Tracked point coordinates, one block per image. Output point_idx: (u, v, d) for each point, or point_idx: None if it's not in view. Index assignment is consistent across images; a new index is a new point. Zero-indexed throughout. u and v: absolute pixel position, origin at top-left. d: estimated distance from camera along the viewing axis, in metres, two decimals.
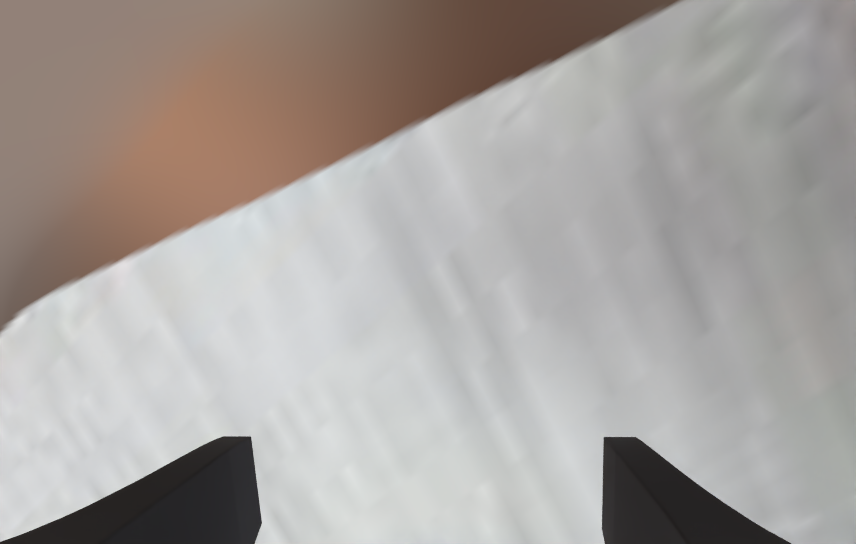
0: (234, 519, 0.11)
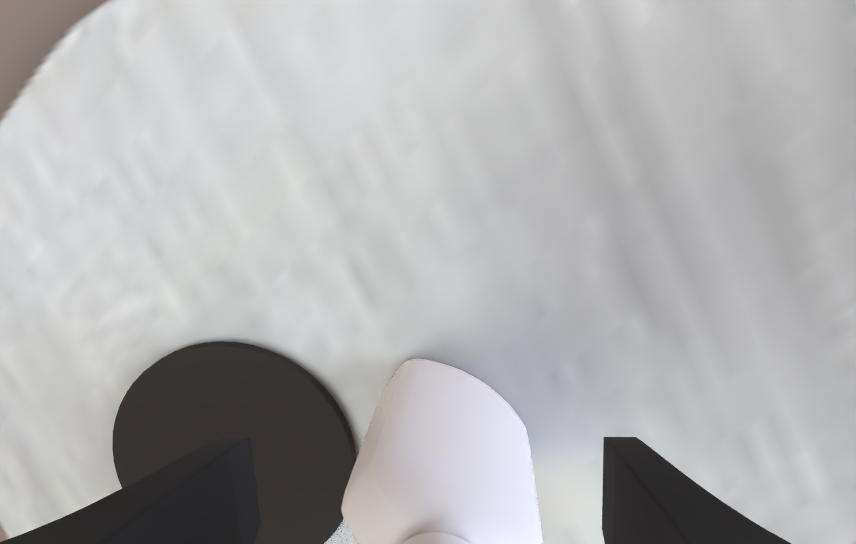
0: (234, 519, 0.11)
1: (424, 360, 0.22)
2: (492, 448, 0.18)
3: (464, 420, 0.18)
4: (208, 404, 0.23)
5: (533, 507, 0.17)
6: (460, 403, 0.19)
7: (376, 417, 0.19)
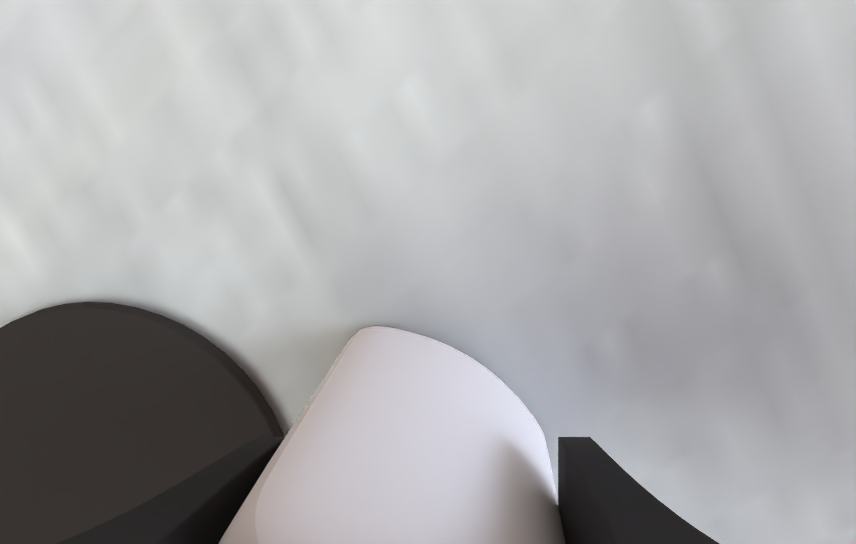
0: None
1: (388, 328, 0.14)
2: (491, 468, 0.10)
3: (445, 419, 0.11)
4: (71, 395, 0.16)
5: None
6: (439, 392, 0.12)
7: None
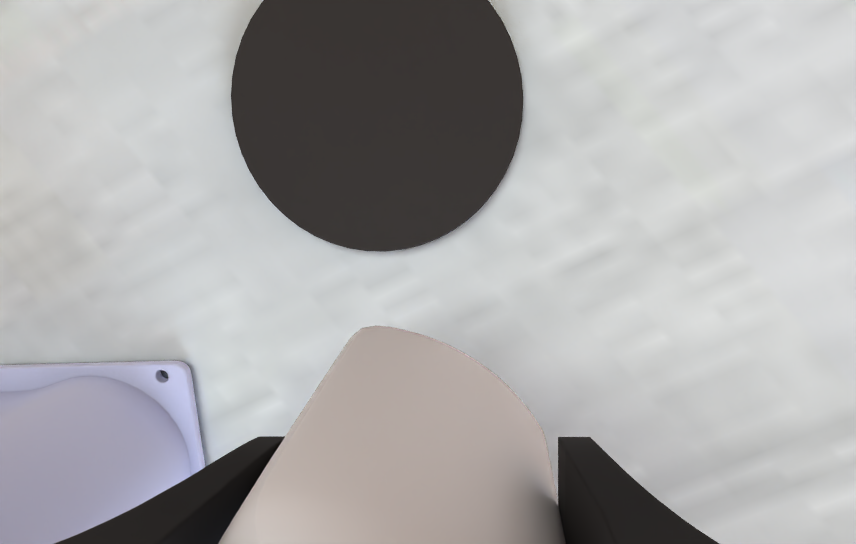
0: None
1: (388, 328, 0.14)
2: (492, 468, 0.10)
3: (445, 418, 0.11)
4: (449, 83, 0.20)
5: None
6: (439, 391, 0.12)
7: None
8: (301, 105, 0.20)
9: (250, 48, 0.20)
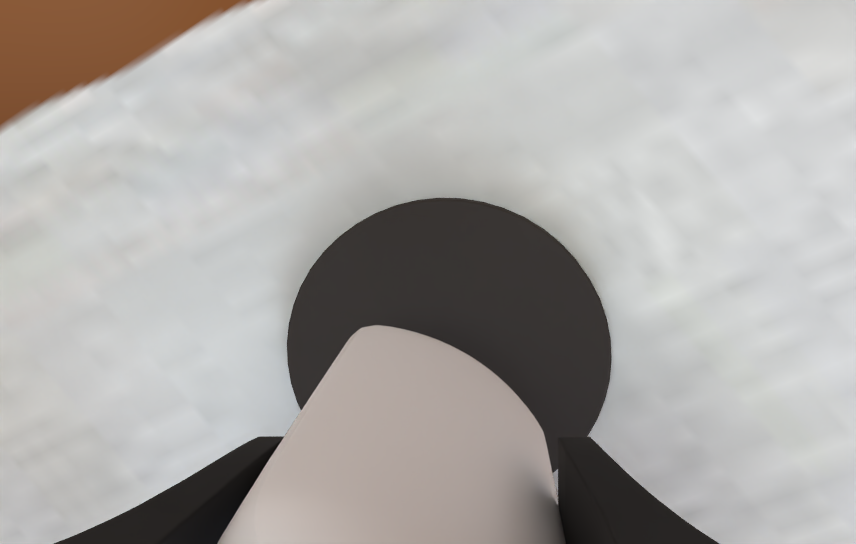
0: None
1: (388, 327, 0.14)
2: (491, 467, 0.10)
3: (444, 418, 0.11)
4: (529, 342, 0.18)
5: None
6: (439, 390, 0.12)
7: None
8: None
9: (309, 298, 0.18)
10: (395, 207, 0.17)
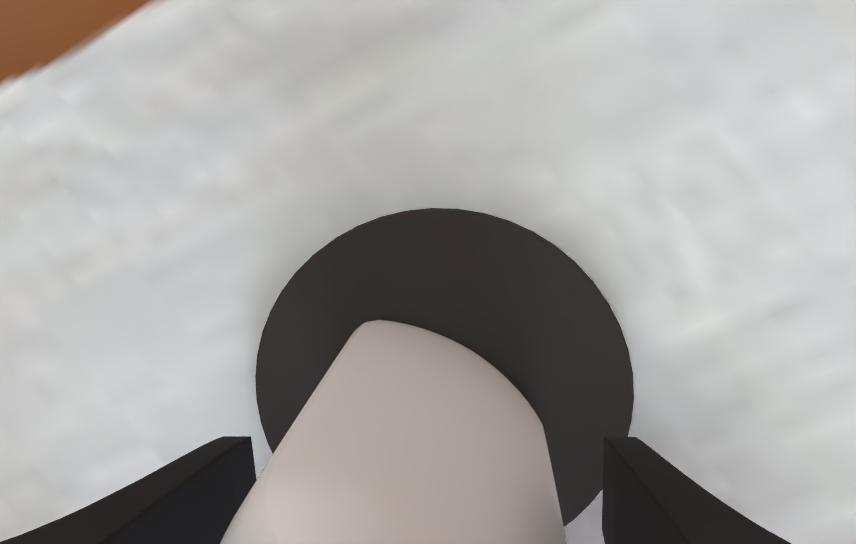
0: None
1: (391, 322, 0.15)
2: (492, 455, 0.11)
3: (446, 407, 0.11)
4: (537, 377, 0.15)
5: None
6: (441, 382, 0.12)
7: None
8: None
9: (281, 324, 0.15)
10: (380, 219, 0.15)
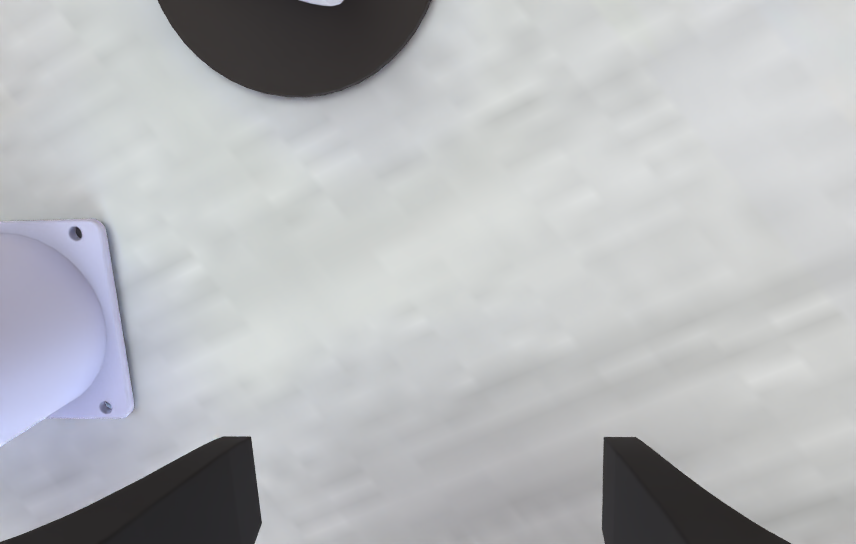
0: (234, 519, 0.11)
1: None
2: None
3: None
4: None
5: None
6: None
7: None
8: None
9: None
10: None
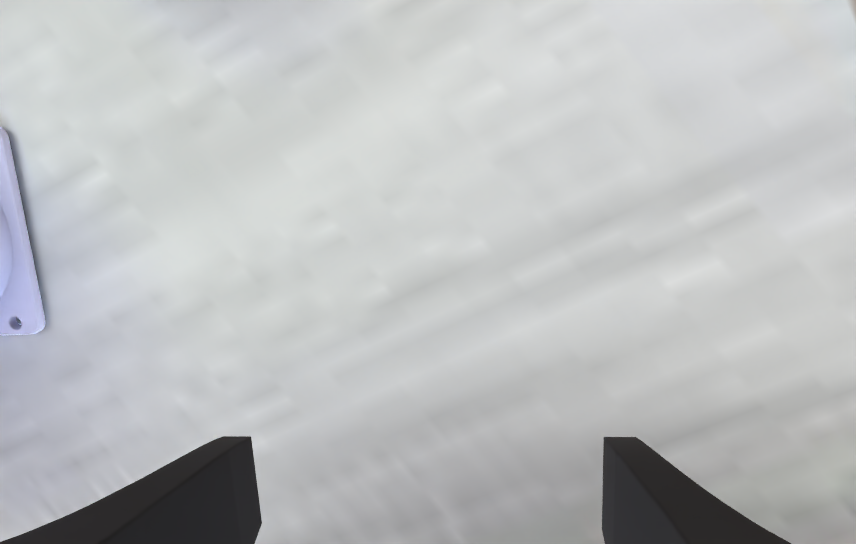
0: (234, 520, 0.11)
1: None
2: None
3: None
4: None
5: None
6: None
7: None
8: None
9: None
10: None
